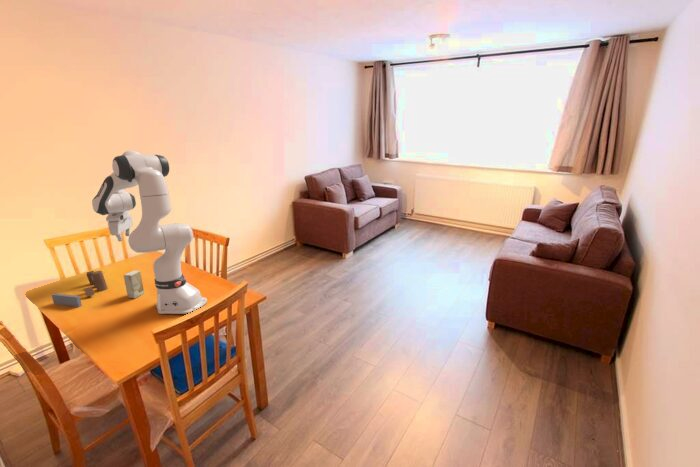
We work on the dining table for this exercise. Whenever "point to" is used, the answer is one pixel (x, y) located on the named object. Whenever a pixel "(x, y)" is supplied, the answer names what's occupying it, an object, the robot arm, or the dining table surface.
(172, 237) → the robot arm
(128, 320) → the dining table surface
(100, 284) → the wooden block set
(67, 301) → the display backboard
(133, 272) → the skincare box
